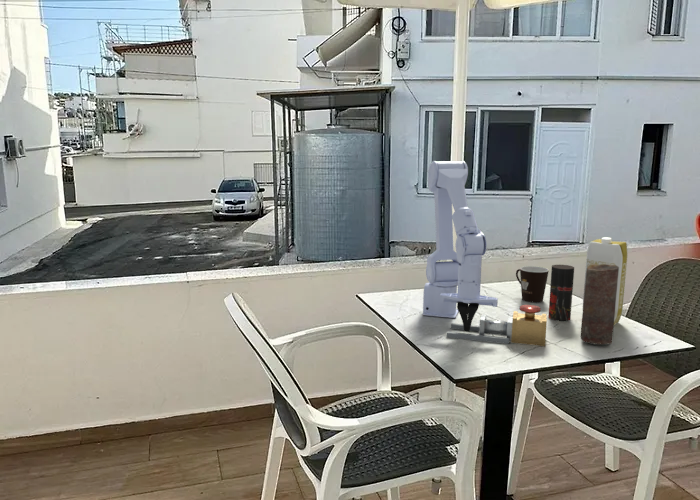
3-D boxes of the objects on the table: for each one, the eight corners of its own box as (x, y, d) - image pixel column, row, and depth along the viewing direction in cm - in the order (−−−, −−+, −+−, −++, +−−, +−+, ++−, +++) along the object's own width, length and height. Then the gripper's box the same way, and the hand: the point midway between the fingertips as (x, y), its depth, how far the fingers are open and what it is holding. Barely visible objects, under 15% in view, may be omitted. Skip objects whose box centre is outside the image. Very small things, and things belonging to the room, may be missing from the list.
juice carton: (578, 321, 158) (585, 236, 153) (589, 315, 164) (596, 233, 159) (613, 329, 152) (621, 241, 147) (623, 322, 157) (631, 237, 153)
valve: (511, 342, 141) (513, 309, 140) (512, 334, 147) (514, 302, 146) (545, 346, 139) (547, 312, 137) (544, 338, 145) (547, 305, 143)
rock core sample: (609, 351, 136) (616, 269, 132) (577, 345, 140) (583, 266, 136) (614, 341, 142) (621, 263, 138) (582, 336, 146) (589, 260, 142)
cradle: (446, 337, 145) (446, 332, 145) (451, 327, 153) (451, 323, 153) (508, 343, 141) (509, 339, 140) (510, 333, 148) (510, 329, 148)
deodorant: (572, 322, 158) (576, 269, 155) (549, 320, 159) (553, 268, 156) (568, 315, 163) (572, 265, 160) (546, 314, 164) (550, 264, 162)
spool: (478, 338, 145) (479, 319, 144) (480, 332, 149) (481, 314, 148) (511, 341, 142) (512, 322, 141) (512, 335, 147) (513, 317, 146)
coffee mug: (550, 303, 175) (552, 272, 174) (522, 303, 176) (524, 272, 174) (538, 293, 187) (540, 264, 185) (512, 293, 187) (514, 264, 185)
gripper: (438, 281, 143) (436, 332, 146) (497, 285, 139) (494, 338, 142) (442, 275, 150) (441, 324, 153) (499, 279, 146) (496, 329, 148)
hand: (467, 330), depth 148 cm, fingers closed
